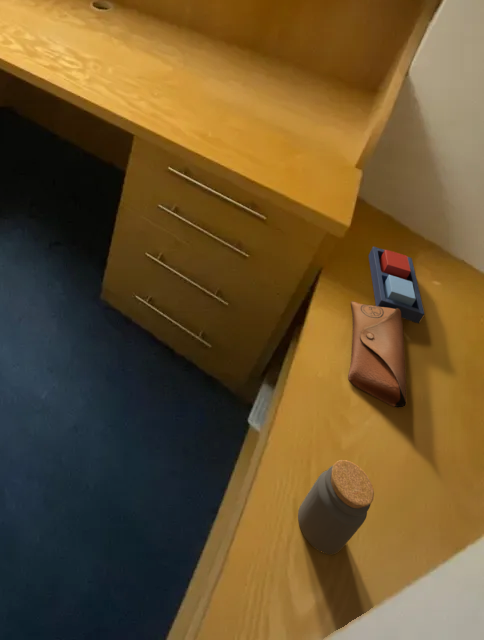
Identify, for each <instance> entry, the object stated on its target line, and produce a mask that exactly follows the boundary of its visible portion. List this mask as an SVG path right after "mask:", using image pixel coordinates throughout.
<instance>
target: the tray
mask: <svg viewBox="0 0 484 640" xmlns="http://www.w3.org/2000/svg"><path fill="white" fill-rule="evenodd" d="M384 250H385V249H383V248H379V247H376V246H372V248H371V249H370V252H369V254H368V262H369V268H370V276H371V281H372V288H373V295H374V296H373V297H374V302H375V306H379V307H387V308H393V309H396V308H398V309H400V311H401V318H402V319H403V320H407V321H410V322H413V323H415V324H420V322H421V321H422V320H423V318H424V317H425V315H426V314H425V310H424V305H423V302H422V297H421V293H420V288H419V283H418V279H417V275H416V270H415V267H414V262H413V258H412V257H410V256H407V257H408V262H409V266H410V271H411V272H410V274H409V275H408V277H407V279H404V280H407V281H410V282H412V284H413V288H414V293H415V297H416V300H415V302H414V303H413V305H412V306H411V307H410V306H407V305H404V304H401V303H398V302H395V301H392V300H389V299H386V298H385V292H384V286H383V284H384V283H385V281H386V279H387V277H388V275H390V274H387V273H383V272H381V268H380V262H379V260H380V258H381V256H382V254H383V252H384ZM391 276H393V275H391ZM395 277H396V276H395ZM398 278H399V277H398ZM401 279H403V278H401Z"/></svg>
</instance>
